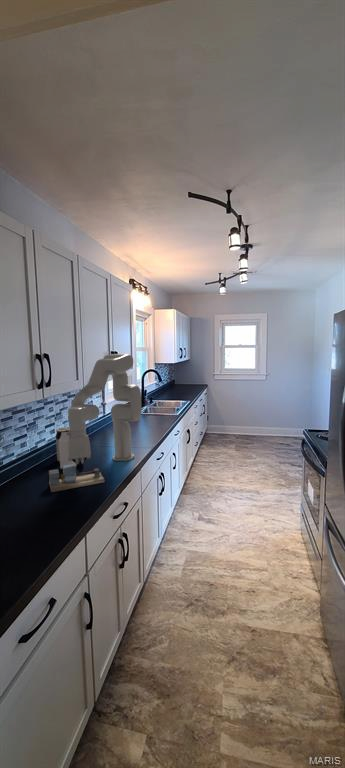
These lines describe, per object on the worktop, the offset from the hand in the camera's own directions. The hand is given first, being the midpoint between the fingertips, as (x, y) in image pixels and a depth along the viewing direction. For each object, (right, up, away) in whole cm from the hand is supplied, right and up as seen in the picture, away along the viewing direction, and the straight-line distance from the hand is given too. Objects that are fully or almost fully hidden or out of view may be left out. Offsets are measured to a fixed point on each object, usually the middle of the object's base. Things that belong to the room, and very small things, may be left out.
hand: (80, 471), depth 164 cm
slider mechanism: (-1, -6, 0) cm, 6 cm away
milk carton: (-12, -4, +24) cm, 27 cm away
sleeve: (-4, -4, -2) cm, 6 cm away
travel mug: (-18, -3, +36) cm, 41 cm away
